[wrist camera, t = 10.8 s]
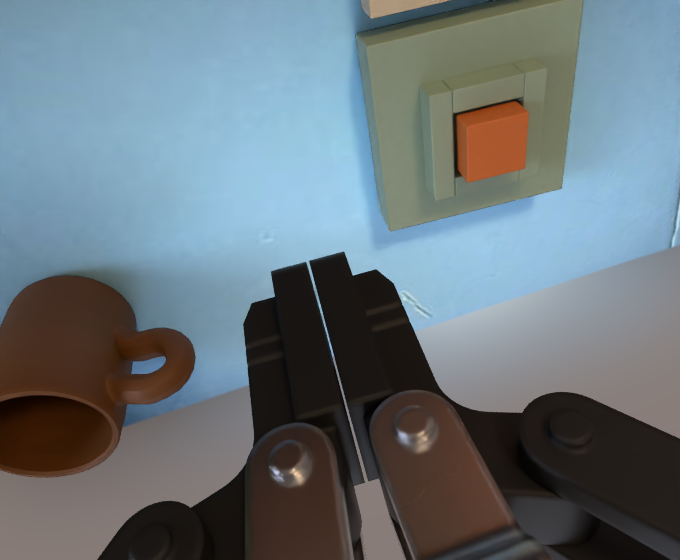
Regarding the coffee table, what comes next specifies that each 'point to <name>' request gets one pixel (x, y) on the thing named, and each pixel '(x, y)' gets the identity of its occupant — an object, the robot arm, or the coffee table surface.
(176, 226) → the coffee table surface
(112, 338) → the mug
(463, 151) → the key
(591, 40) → the coffee table surface
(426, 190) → the green stepped square block
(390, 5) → the beige push button
